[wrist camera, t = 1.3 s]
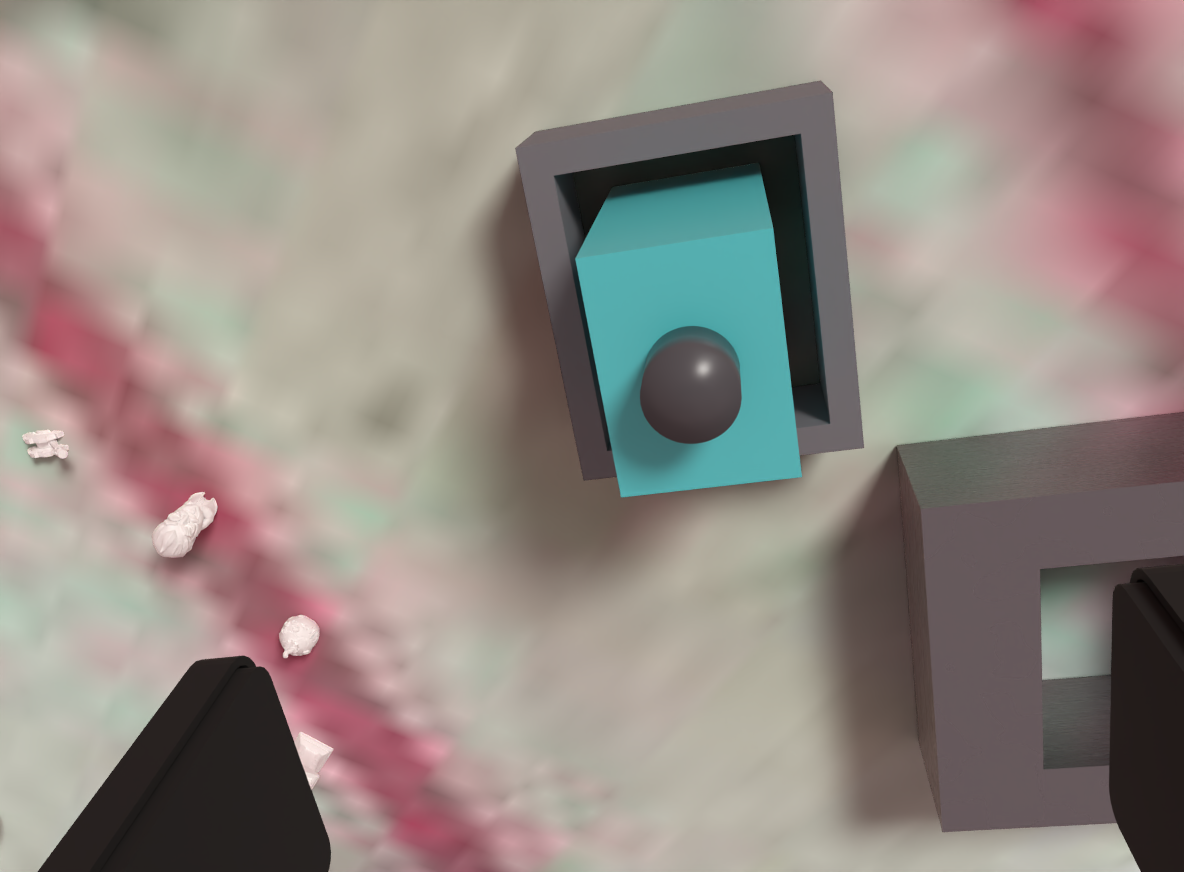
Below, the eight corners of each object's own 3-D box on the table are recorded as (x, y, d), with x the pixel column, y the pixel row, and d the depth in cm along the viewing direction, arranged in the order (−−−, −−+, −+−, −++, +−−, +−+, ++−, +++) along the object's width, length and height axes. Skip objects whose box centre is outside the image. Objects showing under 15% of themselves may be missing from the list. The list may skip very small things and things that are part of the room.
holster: (821, 80, 26) (832, 92, 24) (851, 405, 30) (864, 447, 27) (535, 131, 28) (514, 148, 25) (595, 436, 31) (583, 480, 29)
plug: (759, 162, 28) (777, 245, 19) (781, 355, 30) (807, 509, 21) (612, 186, 28) (565, 278, 20) (644, 373, 30) (615, 529, 22)
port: (1307, 397, 28) (1393, 458, 25) (1278, 717, 33) (1348, 810, 29) (896, 445, 30) (920, 508, 27) (919, 741, 34) (942, 832, 31)
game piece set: (-277, 472, 36) (-384, 525, 33) (232, 359, 32) (173, 406, 29) (-18, 880, 43) (-83, 959, 40) (424, 830, 39) (395, 913, 36)
